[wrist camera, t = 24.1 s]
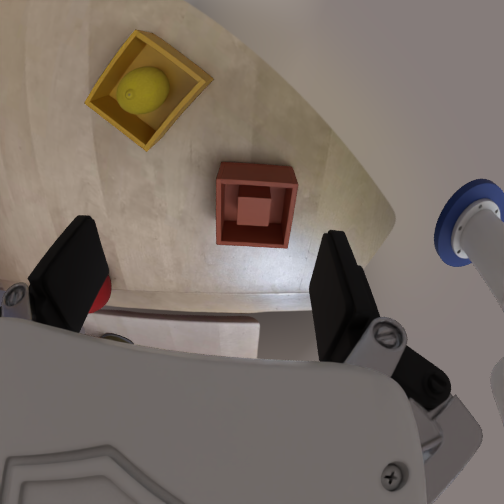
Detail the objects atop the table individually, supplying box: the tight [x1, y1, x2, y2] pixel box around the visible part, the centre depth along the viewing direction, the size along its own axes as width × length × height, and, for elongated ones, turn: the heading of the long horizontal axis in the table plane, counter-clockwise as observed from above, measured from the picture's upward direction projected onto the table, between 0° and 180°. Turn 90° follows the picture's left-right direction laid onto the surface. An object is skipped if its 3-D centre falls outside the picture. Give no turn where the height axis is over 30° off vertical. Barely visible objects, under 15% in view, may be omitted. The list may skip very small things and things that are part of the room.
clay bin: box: [216, 162, 298, 249], centre depth 35 cm, size 9×9×6 cm
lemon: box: [116, 66, 170, 115], centre depth 24 cm, size 6×6×8 cm
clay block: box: [237, 185, 271, 226], centre depth 35 cm, size 4×4×4 cm
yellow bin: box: [84, 30, 214, 152], centre depth 25 cm, size 10×10×6 cm
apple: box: [89, 275, 111, 313], centre depth 43 cm, size 9×9×10 cm
